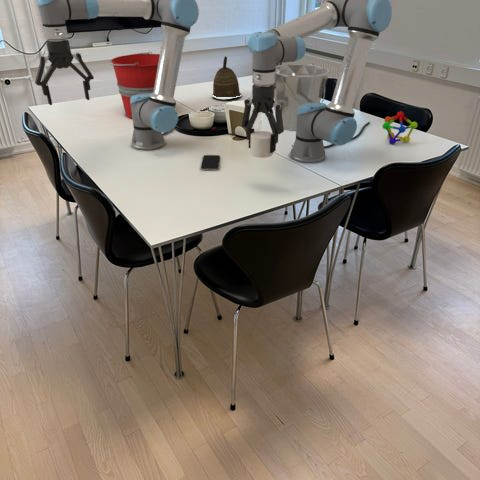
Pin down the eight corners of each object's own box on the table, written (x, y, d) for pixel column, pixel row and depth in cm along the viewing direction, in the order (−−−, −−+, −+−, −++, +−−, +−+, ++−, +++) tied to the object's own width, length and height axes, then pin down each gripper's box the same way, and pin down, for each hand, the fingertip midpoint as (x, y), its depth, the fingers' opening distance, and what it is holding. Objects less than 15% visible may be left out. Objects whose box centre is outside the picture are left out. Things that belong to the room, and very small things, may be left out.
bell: (227, 105, 294) (202, 96, 282) (238, 66, 289) (213, 55, 277) (243, 108, 280) (217, 98, 268) (255, 66, 275) (229, 55, 263)
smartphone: (200, 168, 181) (203, 155, 194) (200, 170, 182) (203, 156, 194) (218, 168, 181) (220, 155, 194) (218, 170, 182) (220, 156, 194)
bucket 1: (125, 104, 265) (117, 50, 249) (183, 105, 264) (179, 51, 248) (108, 122, 236) (99, 62, 220) (174, 123, 235) (169, 63, 219)
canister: (275, 156, 157) (276, 137, 154) (252, 158, 156) (253, 139, 152) (270, 148, 164) (271, 130, 160) (248, 150, 163) (248, 131, 159)
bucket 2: (296, 138, 215) (301, 78, 201) (255, 124, 234) (256, 68, 219) (335, 125, 232) (342, 70, 217) (294, 113, 251) (297, 61, 236)
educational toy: (377, 146, 209) (379, 114, 202) (384, 138, 219) (386, 107, 211) (411, 149, 202) (415, 116, 195) (417, 141, 212) (420, 109, 204)
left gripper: (20, 43, 145) (36, 108, 156) (96, 38, 156) (105, 99, 168) (16, 40, 150) (31, 104, 162) (90, 35, 162) (99, 95, 173)
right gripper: (230, 82, 149) (231, 147, 161) (286, 90, 140) (283, 158, 152) (242, 78, 155) (242, 140, 167) (297, 85, 145) (292, 151, 157)
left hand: (69, 101), depth 165 cm, fingers open, 13 cm apart
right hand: (261, 149), depth 159 cm, fingers closed on canister, 8 cm apart
